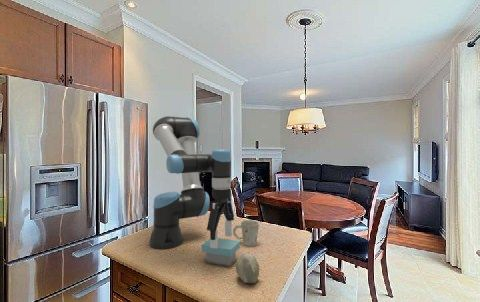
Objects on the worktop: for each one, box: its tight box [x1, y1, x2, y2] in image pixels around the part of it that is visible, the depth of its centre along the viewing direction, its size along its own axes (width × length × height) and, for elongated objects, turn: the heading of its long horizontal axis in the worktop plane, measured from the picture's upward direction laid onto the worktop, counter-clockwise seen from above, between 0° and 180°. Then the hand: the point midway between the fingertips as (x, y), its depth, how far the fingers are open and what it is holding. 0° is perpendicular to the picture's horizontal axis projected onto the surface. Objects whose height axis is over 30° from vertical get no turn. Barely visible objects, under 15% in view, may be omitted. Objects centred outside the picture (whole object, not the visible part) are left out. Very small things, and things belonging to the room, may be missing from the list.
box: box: [205, 251, 237, 268], centre depth 98 cm, size 10×6×6 cm, turn 69°
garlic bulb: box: [235, 252, 260, 284], centre depth 83 cm, size 9×8×10 cm
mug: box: [232, 219, 260, 247], centre depth 116 cm, size 8×13×10 cm, turn 78°
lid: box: [201, 237, 241, 257], centre depth 98 cm, size 13×9×3 cm
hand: (221, 241), depth 97 cm, fingers open, 13 cm apart
